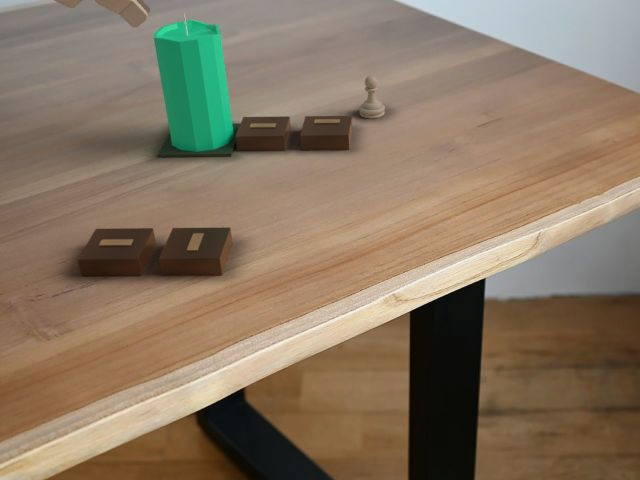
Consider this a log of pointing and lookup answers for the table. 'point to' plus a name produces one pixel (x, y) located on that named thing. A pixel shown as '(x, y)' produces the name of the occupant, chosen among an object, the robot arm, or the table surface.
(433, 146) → the table surface
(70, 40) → the table surface
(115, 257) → the front word
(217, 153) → the mat
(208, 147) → the candle
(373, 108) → the pawn
